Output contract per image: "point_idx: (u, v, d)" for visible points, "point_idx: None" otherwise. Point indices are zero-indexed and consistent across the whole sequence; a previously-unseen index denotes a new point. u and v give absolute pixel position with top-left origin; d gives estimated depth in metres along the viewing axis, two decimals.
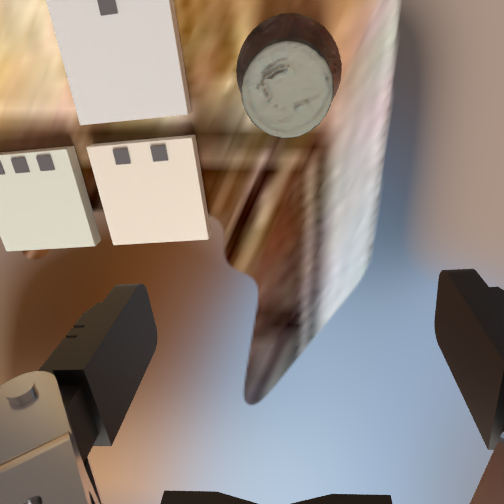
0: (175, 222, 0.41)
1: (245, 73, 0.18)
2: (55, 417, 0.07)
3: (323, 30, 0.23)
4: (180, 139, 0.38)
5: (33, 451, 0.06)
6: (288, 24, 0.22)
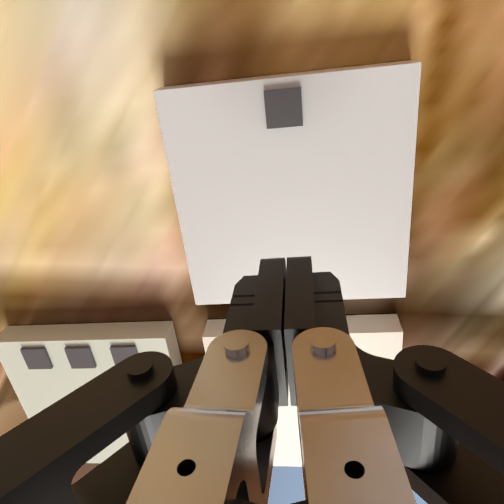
0: None
1: None
2: (249, 387, 0.07)
3: None
4: (380, 333, 0.21)
5: (212, 414, 0.06)
6: None
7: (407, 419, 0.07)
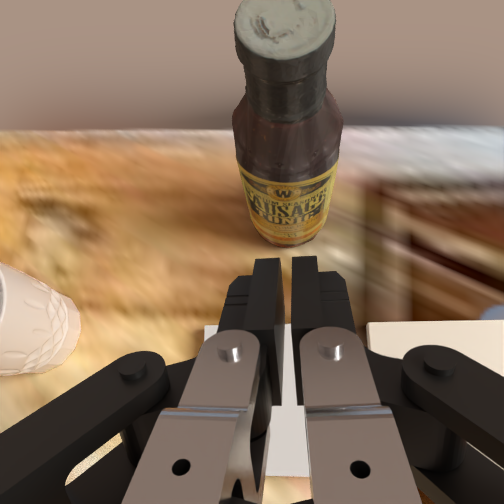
0: (494, 365, 0.28)
1: (261, 55, 0.16)
2: (242, 386, 0.07)
3: None
4: (370, 337, 0.30)
5: (206, 414, 0.06)
6: (238, 111, 0.22)
7: (416, 419, 0.07)
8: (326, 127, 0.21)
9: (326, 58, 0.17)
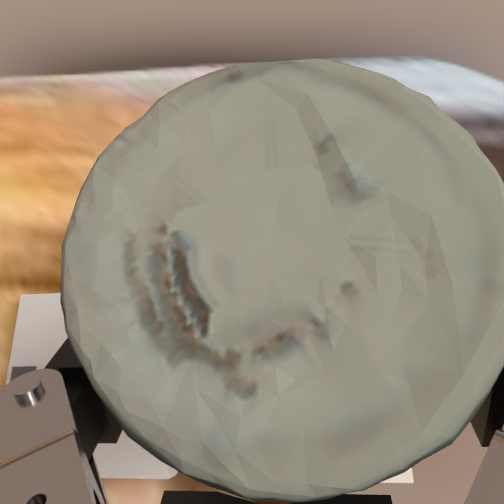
0: None
1: (170, 460, 0.03)
2: (61, 415, 0.07)
3: None
4: None
5: (38, 449, 0.06)
6: None
7: None
8: None
9: None
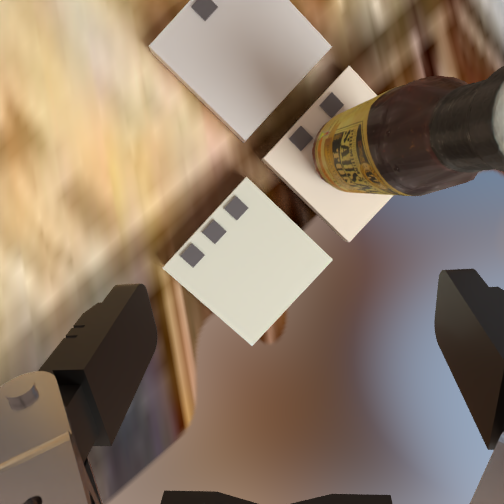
0: None
1: (493, 132, 0.15)
2: (55, 417, 0.07)
3: (438, 76, 0.21)
4: (340, 76, 0.34)
5: (33, 451, 0.06)
6: (416, 93, 0.20)
7: None
8: (457, 178, 0.21)
9: None
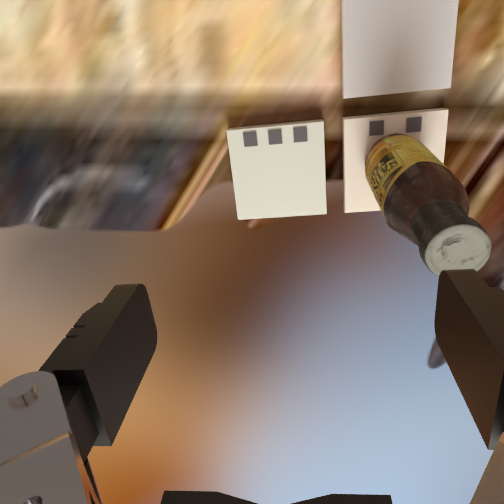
0: None
1: (430, 241, 0.26)
2: (55, 417, 0.07)
3: (458, 183, 0.31)
4: (436, 111, 0.41)
5: (33, 451, 0.06)
6: (436, 183, 0.30)
7: None
8: (414, 240, 0.32)
9: None
